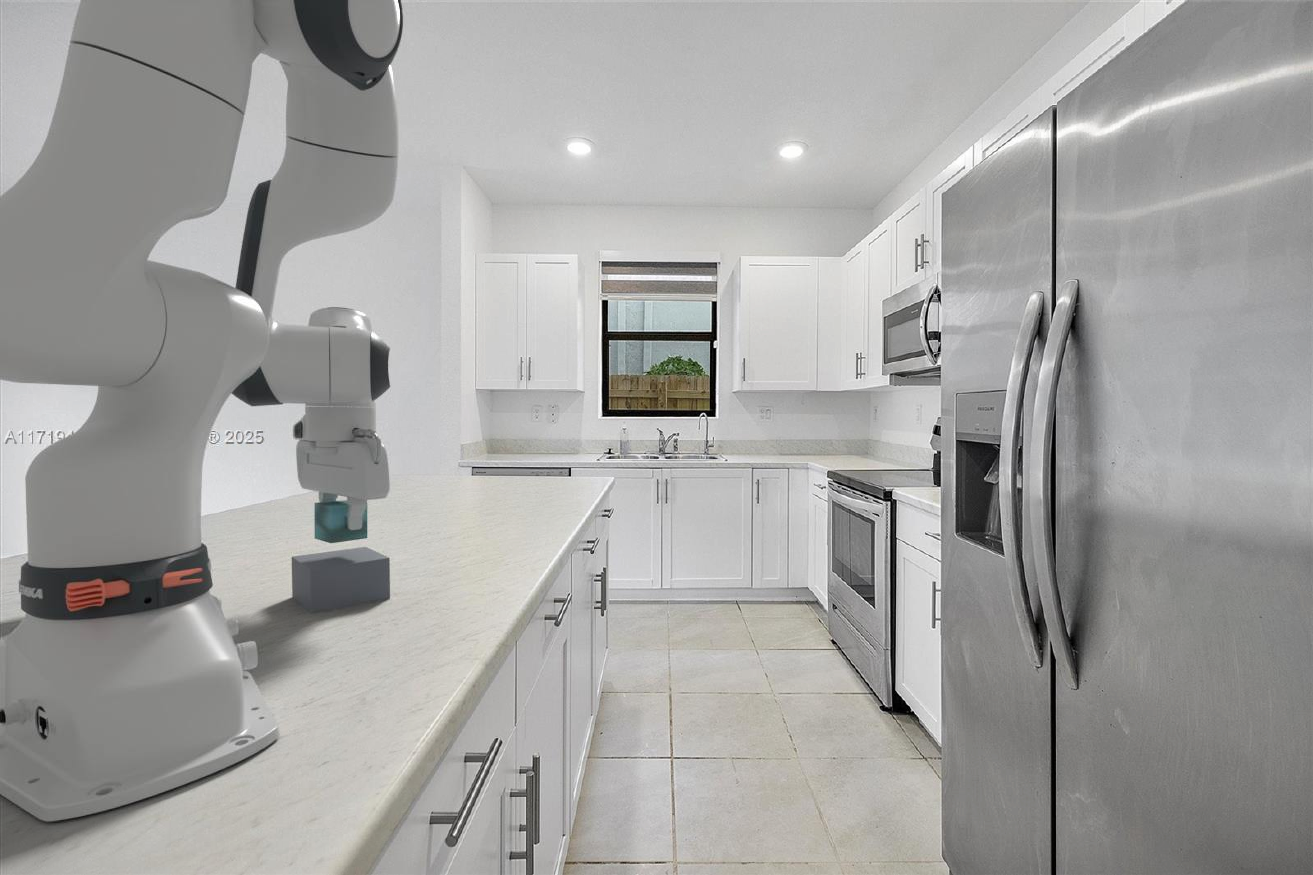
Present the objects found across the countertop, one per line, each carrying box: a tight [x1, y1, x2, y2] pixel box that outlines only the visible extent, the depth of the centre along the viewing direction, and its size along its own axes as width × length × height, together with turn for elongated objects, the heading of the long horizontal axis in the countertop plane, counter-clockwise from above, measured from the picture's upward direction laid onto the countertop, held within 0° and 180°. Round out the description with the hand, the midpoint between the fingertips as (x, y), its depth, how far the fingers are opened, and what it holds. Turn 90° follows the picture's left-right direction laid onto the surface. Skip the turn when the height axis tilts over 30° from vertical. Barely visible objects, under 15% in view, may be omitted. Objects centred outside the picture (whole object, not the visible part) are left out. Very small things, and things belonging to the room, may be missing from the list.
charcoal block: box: [291, 546, 391, 614], centre depth 89 cm, size 10×10×6 cm
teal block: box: [314, 499, 368, 544], centre depth 89 cm, size 5×5×5 cm
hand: (342, 526), depth 89 cm, fingers closed on teal block, 5 cm apart
